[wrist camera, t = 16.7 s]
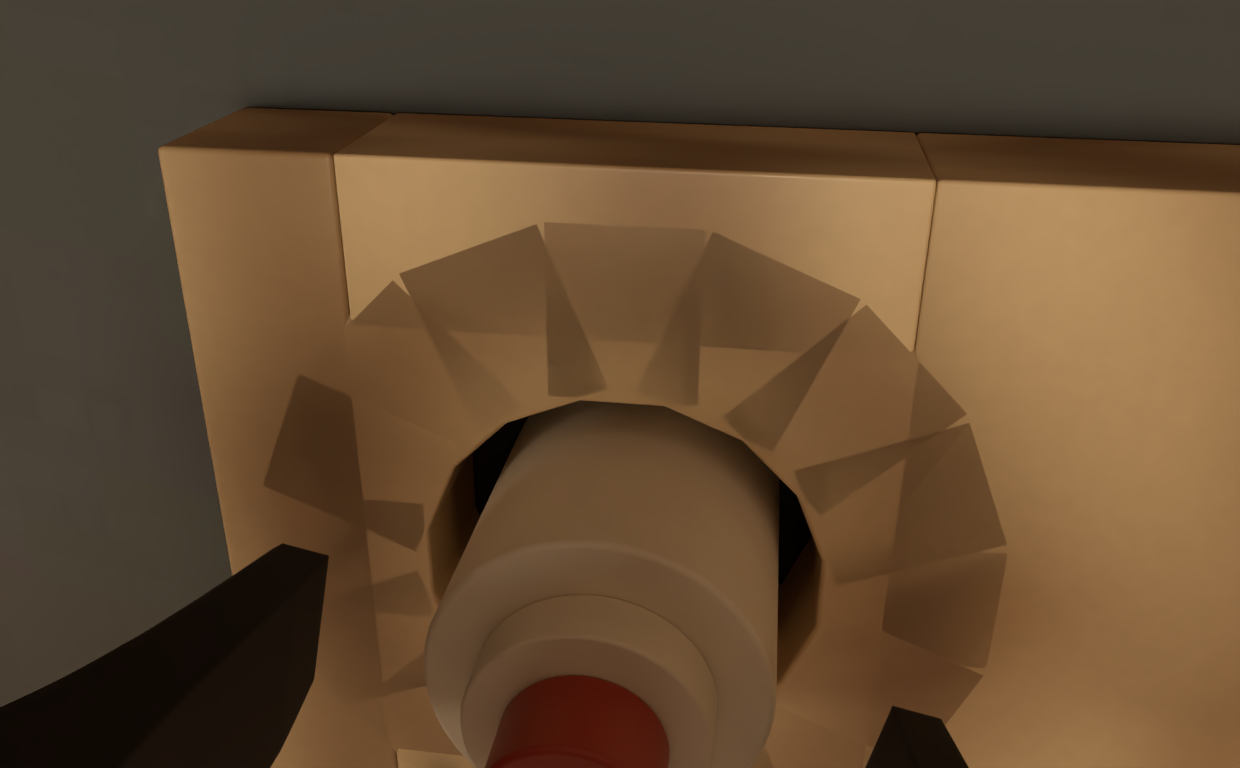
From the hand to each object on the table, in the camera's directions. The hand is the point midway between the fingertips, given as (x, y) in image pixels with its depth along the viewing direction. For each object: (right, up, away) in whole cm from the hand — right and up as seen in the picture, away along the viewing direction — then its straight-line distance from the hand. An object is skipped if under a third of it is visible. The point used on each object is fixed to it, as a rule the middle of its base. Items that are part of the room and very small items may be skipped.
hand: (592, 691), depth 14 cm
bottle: (+1, +2, +4) cm, 5 cm away
